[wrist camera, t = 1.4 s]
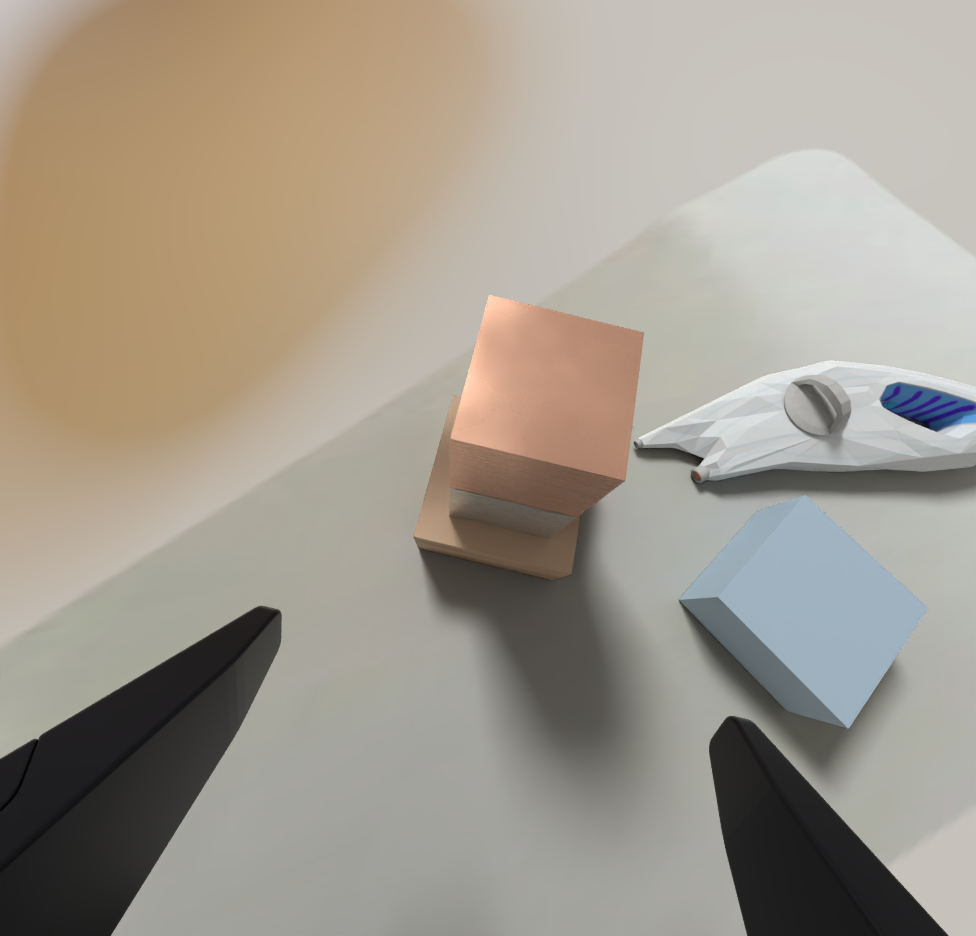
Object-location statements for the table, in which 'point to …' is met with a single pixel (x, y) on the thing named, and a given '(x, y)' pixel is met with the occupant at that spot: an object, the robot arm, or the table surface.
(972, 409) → the spaceship
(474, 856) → the table surface
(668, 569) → the table surface
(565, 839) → the table surface
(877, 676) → the stand
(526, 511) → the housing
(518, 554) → the stand
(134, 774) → the robot arm
